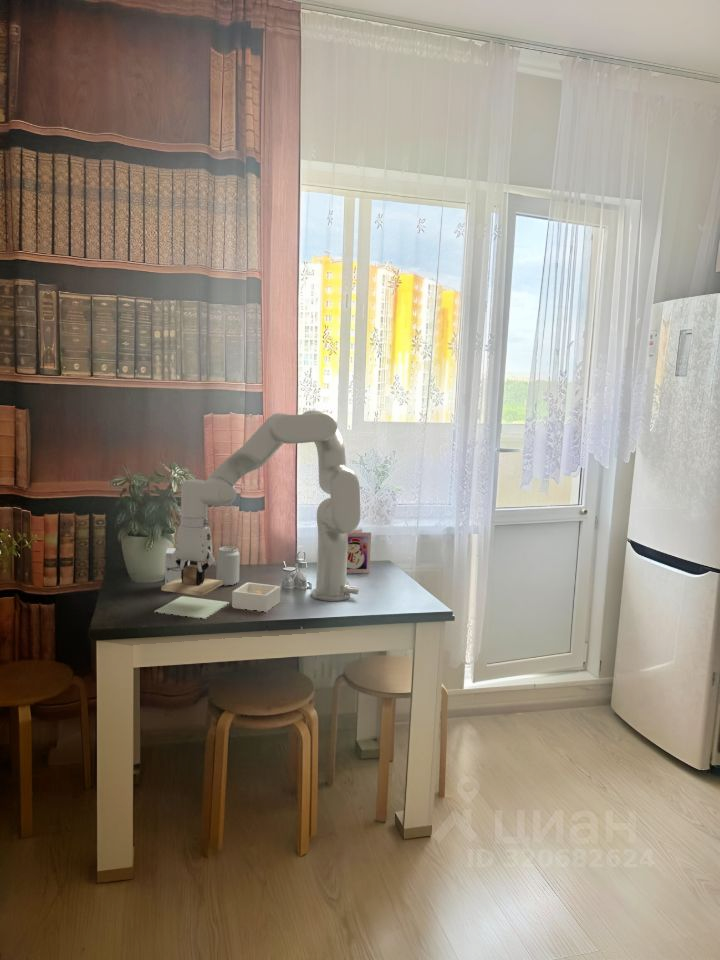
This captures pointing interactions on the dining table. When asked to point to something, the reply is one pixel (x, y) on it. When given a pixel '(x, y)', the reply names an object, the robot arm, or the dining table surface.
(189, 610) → the mat
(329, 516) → the robot arm
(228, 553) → the can
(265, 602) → the dish
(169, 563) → the supplement box
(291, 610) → the dining table surface
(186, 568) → the lid
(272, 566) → the dining table surface
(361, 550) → the greeting card
